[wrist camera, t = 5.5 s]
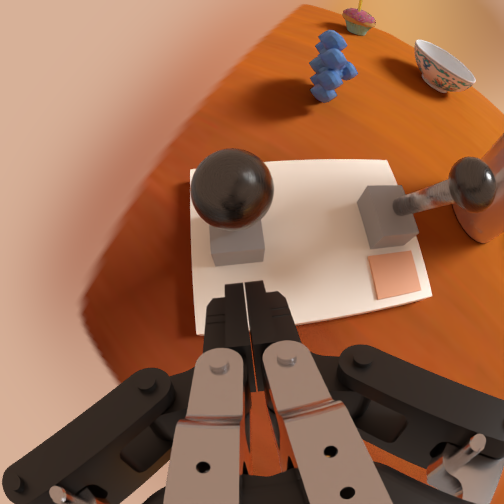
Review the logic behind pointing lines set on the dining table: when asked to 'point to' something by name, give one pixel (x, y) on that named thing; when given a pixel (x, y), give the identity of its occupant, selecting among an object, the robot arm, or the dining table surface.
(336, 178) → the console
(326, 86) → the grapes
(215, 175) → the lever
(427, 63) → the chinaware
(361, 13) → the cupcake
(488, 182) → the lever
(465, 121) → the dining table surface
